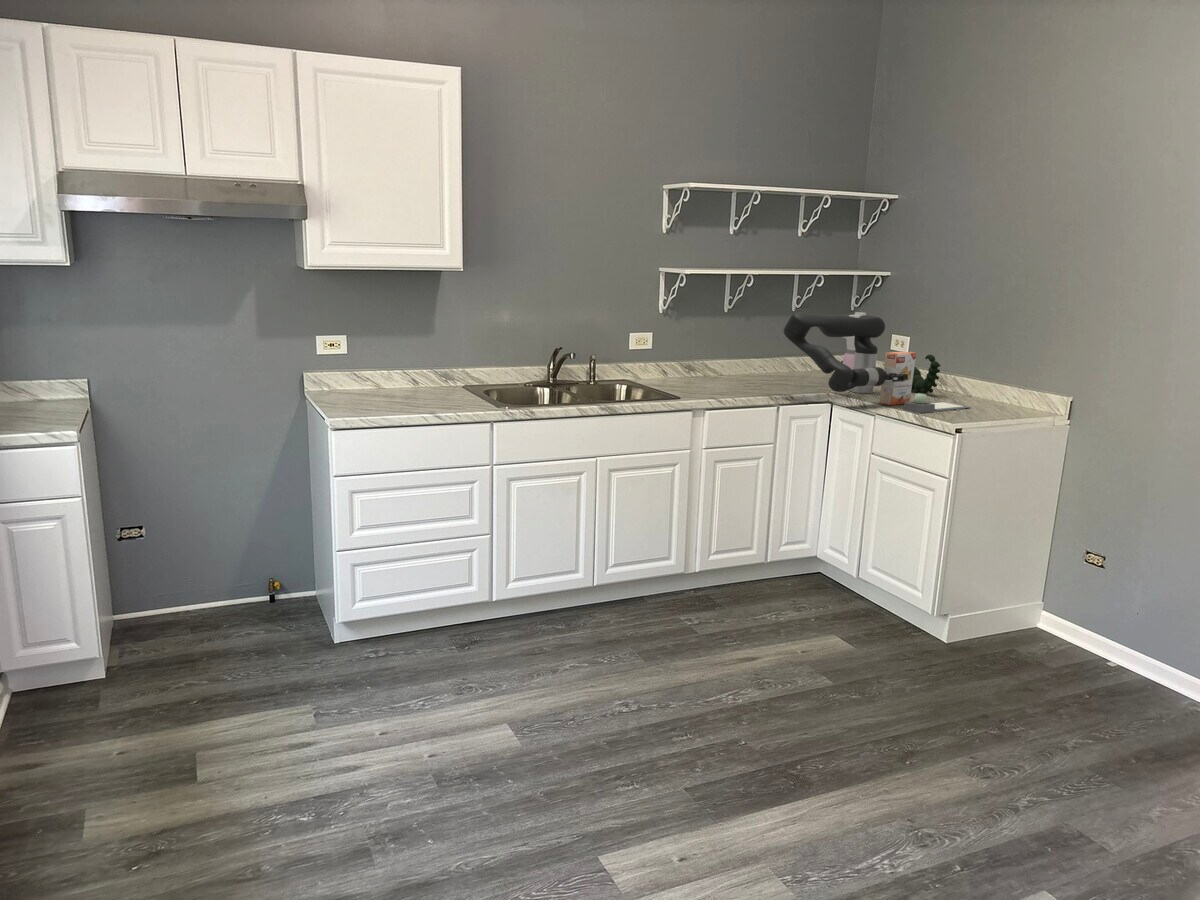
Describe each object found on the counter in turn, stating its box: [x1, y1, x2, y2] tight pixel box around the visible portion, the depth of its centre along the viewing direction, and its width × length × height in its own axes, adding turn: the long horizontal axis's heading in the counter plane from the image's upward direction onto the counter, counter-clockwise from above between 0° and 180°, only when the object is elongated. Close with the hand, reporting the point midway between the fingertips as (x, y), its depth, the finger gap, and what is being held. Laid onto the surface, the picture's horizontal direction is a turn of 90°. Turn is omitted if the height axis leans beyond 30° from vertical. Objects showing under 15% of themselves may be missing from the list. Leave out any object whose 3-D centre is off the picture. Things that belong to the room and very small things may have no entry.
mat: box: [929, 401, 971, 412], centre depth 347 cm, size 14×20×1 cm
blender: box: [840, 311, 867, 369], centre depth 421 cm, size 16×12×32 cm
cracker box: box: [879, 351, 917, 406], centre depth 350 cm, size 14×6×21 cm, turn 129°
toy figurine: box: [911, 354, 941, 394], centre depth 384 cm, size 9×19×25 cm
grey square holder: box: [903, 400, 935, 414], centre depth 336 cm, size 8×8×3 cm
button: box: [913, 392, 927, 405], centre depth 335 cm, size 4×4×4 cm
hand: (898, 375), depth 350 cm, fingers open, 8 cm apart
